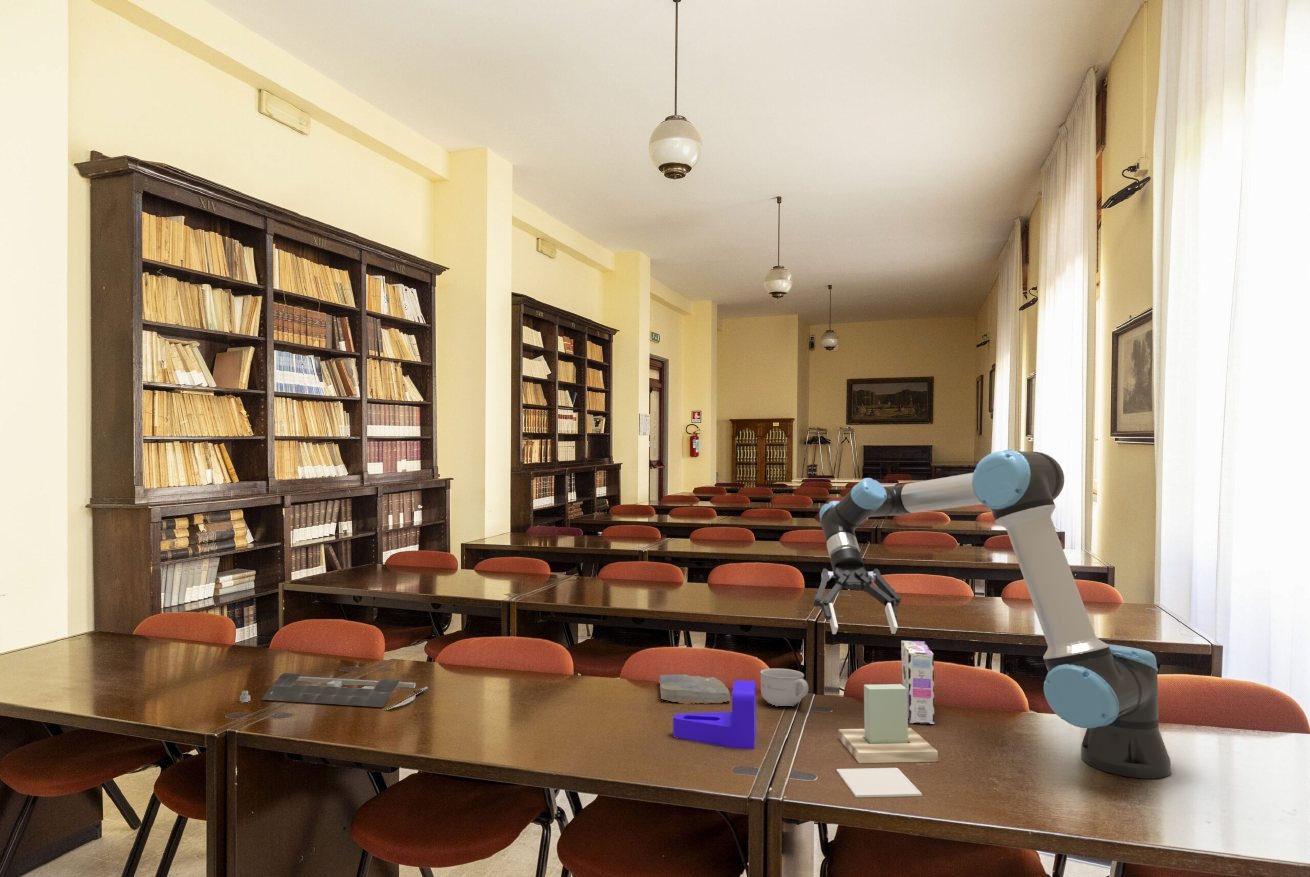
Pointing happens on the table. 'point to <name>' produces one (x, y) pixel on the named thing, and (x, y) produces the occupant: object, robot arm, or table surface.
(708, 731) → the bracket
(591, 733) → the table surface
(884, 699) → the tall mint prism
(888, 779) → the white square tile
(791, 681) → the teacup
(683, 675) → the fossil
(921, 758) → the wooden square base
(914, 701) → the candy box
